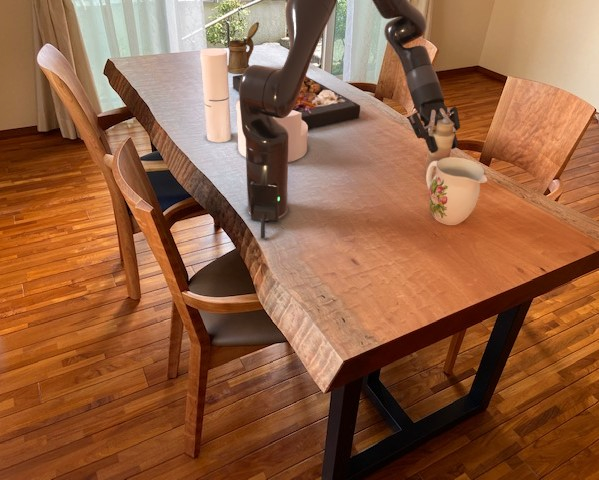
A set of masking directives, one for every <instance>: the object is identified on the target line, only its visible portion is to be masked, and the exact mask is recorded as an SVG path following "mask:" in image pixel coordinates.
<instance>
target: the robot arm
mask: <svg viewBox="0 0 599 480" xmlns="http://www.w3.org/2000/svg"><path fill="white" fill-rule="evenodd" d="M371 1H372V3H373V4H374V5H373V6H375V8H376V10H377V12H378V13H379V15H380V16H381V18H383V19H385V20H389V21H388V22H386V24H385V26H384V30H383V35H384V37H385V40H386V41H387V43H388V44H389V46H390V47H391V48H392V50H393V51H394V53H395V54H396V56H397V58H398V59H399V62H400V64H401V67H402V70H403V72H404V76H405V79H406V84H407V89H408V91H409V96H410V97H411V100H412V104H413V106H414V109H415V110H416V112H415V113H413V114H411V115H410V116H409V117H408V122H409V124H410V126H411V128H412V130H413V132H414V134H415V136H416V138H417V139H423V140H425V142H426V147H427V150H428V149H429V151H430V152H431V153H435V152H436V151H438V147H437V144H436V141H435V138H434V136H433V130H434V128H435V127H436V126H437V121H438V120H442V119H443V118H449V120H450V121H452V122H453V123H454V125H453V130H452V132H453V133H454V134H455V136H454V140H453V144H452V149H451V150H454V149H456V148H458V147H459V141H458V138H457V135H456V132H457V131H458V130H460V129H461V123H460V117H459V111H458V108H457V106H453V107H447V106H446V104H445V96H444V93H443V89H442V87H441V83H440V81H439V77H438V74H437V72H436V70H435V68H434V66H433V63H432V60H431V57H430V54H429V51H428V49H427V47H426V46H425V45H415V46H411V47H410V46H409V47H405V45H407V44H409V43H411V42H413V41H415V40H418V39H420V38H421V37H423V36H424V35H425V33H426V31H427V28H428V27H427V26H428V25H427V20H426V17H425V16H424V15H423V12H421V10H419V9H418V8H417V7H416V6H415V5H414V4H413V3H412V2H410V0H371ZM337 3H338V0H287V2H286V6H285V12H284V13H285V15H284V16H285V23H286V30H287V33H288V41H289V48H288V49H289V50H288V54H287V57H286V59H285V62H284V64H283V66H282V67H281V68H274V67H270V66H265V65H260V64H252V65H249V67H248V68H247V69H246V70H245V71H244V73H242V74H241V75H242V78H241V81H240V88H239V92H238V95H239V96H238V100H240V111H241V121H242V131H243V134H244V136H245V140H246V157H245V165H246V166H245V167H246V195H247V196H246V197H247V209H246V210H247V211H246V212H247V214H248V215H249V216H250V220H251V221H259V222H261V223H260V238H261V240H264V239H265V237H266V232H265V231H266V222H271V223H272V222H273V223H278V222H279V220H281V219H283V218H284V217H285V216H286V215H287V213H288V183H289V181H288V180H289V179H288V178H289V175H288V172H289V162H288V140H289V137H288V132H287V130H286V129H285V128H284V127H283V126H282V125H281V124H279V123H278V122H277V121H276V120H275V119H274V118H273V117H275V118H285V117H286V116H288V115H289V114H290V113H291V111H292V110H293V108H294V106H295V104H296V102H297V99H298V97H299V94H300V91H301V88H302V85H303V82H304V79H305V77H306V76H307V73H308V71H309V68H310V65H311V62H312V60H313V56H314V54H315V52H316V49H317V48H318V45H319V42H320V40H321V38H322V36H323V33H324V31H325V29H326V27H327V25H328V23H329V21H330V19H331V17H332V14H333V13H334V10H335V8H336V5H337ZM279 69H281V70H279ZM432 136H433V137H432Z"/></svg>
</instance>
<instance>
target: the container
mask: <svg viewBox="0 0 599 480" xmlns="http://www.w3.org/2000/svg"><path fill="white" fill-rule="evenodd" d="M235 106H236V127H237V150H238V152H239V154H240V155H241V156H242V157H244V158H246V140H245V136H244V134H243V131H242V121H241V111H240V100H239V99H238V100H237V101H236V104H235ZM301 116H302V113H300V112H297V111H294V110H292V111H291V113H290V114H289V115H288V116H286V117H285V118H275V117H273V118H274V119H275V120H276V121H277V122H278V123H279V124H281V125H282V126H283V127H284V128H285V129H286V130H287V132H288V137H289V140H288V163H291V162H295V161H297V160H299V159H301V158H303V157H304V156H305V155H306V153H307V151H308V134H309V132H308V131H309V130H308V125H307V124H306V122H304V121H303V120H302V119H301Z"/></svg>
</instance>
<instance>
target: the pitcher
mask: <svg viewBox="0 0 599 480" xmlns="http://www.w3.org/2000/svg"><path fill="white" fill-rule="evenodd" d="M435 166H436V174H434V176H433V173H432V172H433V169H434V167H435ZM425 180H426V185H427V189H428V205H429V210H430V213H431V214H432V217H433V218H434V219H435V221H437V222H439V223H441V224H443V225H447V226H456V225H459V224H461V223H462V222H464V221H465V220H466V219H467V218H468V217H469V216H470V215H471V214H472V212H473V211H474V210H475V207H476V205H477V203H478V200H479V198H480V193H481V184H484V183H487V182H488V177H487V176H486V175H485V168H484V167H483V166H482V165H481V164H479V163H478V162H476V161H474V160H472V159H468V158H464V157H456V156H450V157H448V158H443V159H440V160H439V161H433V162H431V163H430V165H429V167H428V169H427V170H426V176H425Z"/></svg>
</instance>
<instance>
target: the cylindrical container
mask: <svg viewBox="0 0 599 480" xmlns="http://www.w3.org/2000/svg"><path fill="white" fill-rule="evenodd" d="M199 52H200V54H199V55H200V64H201V65H200V66H201V77H202V78H201V79H202V91H203V102H204V103H203V104H204V115H205V117H204V118H205V129H206V139H207V140H208V141H209V142H212V143H216V144H217V143H219V144H221V143H226V142H228V141H230V140H231V139H232V129H231V128H232V127H231V108H230V106H231V105H230V85H229V71H228V51H227V50H225V49H224V48H219V47H208V48H203V49H202V50H201V49H200V51H199Z"/></svg>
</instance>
